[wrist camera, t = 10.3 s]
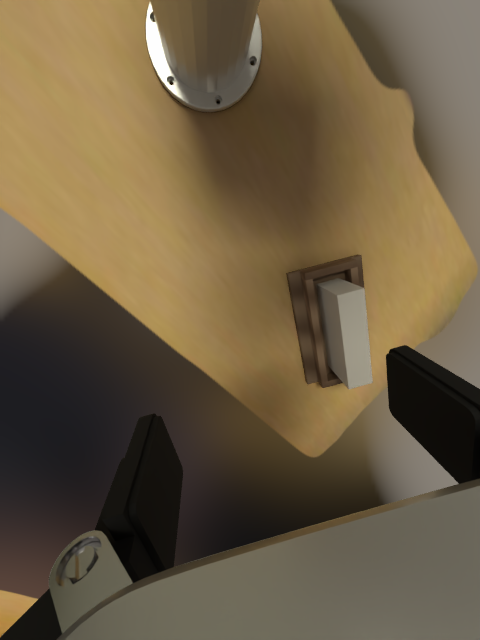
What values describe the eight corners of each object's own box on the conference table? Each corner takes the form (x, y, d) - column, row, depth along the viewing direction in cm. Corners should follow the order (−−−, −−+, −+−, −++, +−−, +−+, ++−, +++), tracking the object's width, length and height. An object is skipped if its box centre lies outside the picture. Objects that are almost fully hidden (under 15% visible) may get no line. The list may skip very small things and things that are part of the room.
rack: (286, 273, 40) (292, 276, 37) (357, 254, 40) (369, 256, 38) (305, 381, 47) (312, 391, 44) (367, 364, 47) (377, 373, 44)
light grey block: (316, 284, 40) (337, 295, 34) (338, 278, 40) (364, 288, 34) (328, 365, 45) (348, 389, 38) (348, 359, 45) (372, 382, 38)
